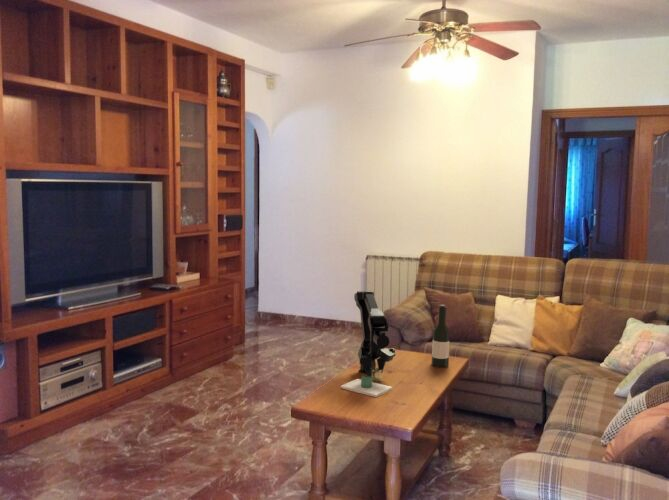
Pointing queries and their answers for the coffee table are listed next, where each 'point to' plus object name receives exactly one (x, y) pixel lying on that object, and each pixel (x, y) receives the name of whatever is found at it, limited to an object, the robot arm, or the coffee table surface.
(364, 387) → the neck block
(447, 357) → the wine bottle
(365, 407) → the coffee table surface
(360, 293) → the robot arm
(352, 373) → the coffee table surface
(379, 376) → the cap
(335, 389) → the coffee table surface
